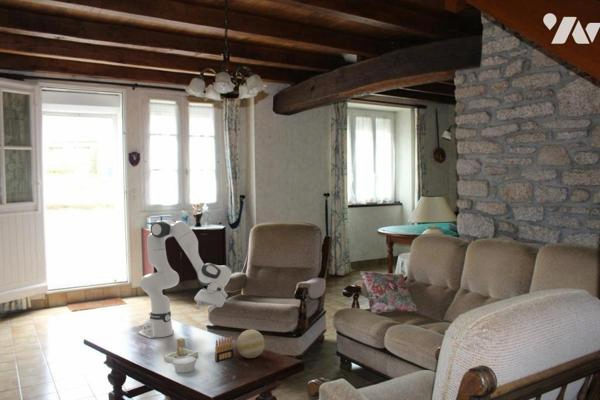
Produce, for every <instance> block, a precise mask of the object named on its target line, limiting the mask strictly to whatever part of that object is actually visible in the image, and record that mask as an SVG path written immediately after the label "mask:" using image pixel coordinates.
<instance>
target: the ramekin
mask: <svg viewBox="0 0 600 400" xmlns="http://www.w3.org/2000/svg"><path fill="white" fill-rule="evenodd" d="M196 359H197V358H196V357H191V356H184V357H179V358H176V359H174V360H173V363H172V364H173V367H174V371H175V372H176V373H178V374H188V373H191V372H193V371H194V369H195V367H196V361H197V360H196Z"/></svg>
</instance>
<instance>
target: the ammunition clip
mask: <svg viewBox="0 0 600 400" xmlns="http://www.w3.org/2000/svg"><path fill="white" fill-rule="evenodd" d="M233 345H234V343H233V337H232V335H231V336H230V337H229V336H228V337H225V338H223V337H222V338H219V339H216V340H215V347H214V348H215V352H214V362H215V363H217V364H218V363H221V362H225V361H229V360H233V359H234V358H235V354H234V346H233Z"/></svg>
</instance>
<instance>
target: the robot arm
mask: <svg viewBox="0 0 600 400" xmlns="http://www.w3.org/2000/svg"><path fill="white" fill-rule="evenodd" d="M173 237H174V238H175V240H176V242H177V243H178V245H179V246H180V247H181V249H182V250H183V251H184V253H185V255H186V257H187V258H188V259H189V261H190V263H191V265H192V268H193V269H194V270H195V273H196V275H197V276H196V277H197V281H198V282H199V284H201V285H202V286H208V287H207V288H202V289H200V290H198V292H197V293H196V295H195V296H194V301H195V302H196V306H195V309H196V310H198V311H199V310H200V309H201V306H200V305H201V304H203V305H207V306H210V307H209V308H208V309H207V312H208V313H212V311H213V310H215V309H216V308H222V307H223V306H224V304H225V302H226V300H227V299H226V298H228V296H229V295H228V293H227V292H226V291H225V287H226V286H227V284H229V281H230V279H231V277H232V270H231V269H230V267H228V266H227V265H225V264H224V265H218V264H214V263H211V262H206V263H204V261H203V260H202V259H201V258H202V257H200V253H199V240H198V238H197V236H196V234H195V232H194V231H193V230H192V228H191V227H190V226H189V225H188V223H186V221H184V220H173V219H162V220H156V221H155V222H153V223H152V224H151V226H150V233H149V234H148V235H147V239H146V240H147V241H146V251H147V259H148V260H147V261H148V264H149V265H150V266H152V267H154V268H155V270H156V271H157V272H152V273H147V274H145V275H143V276H142V277H141V278H140V281H139V287H140V289H142V291H143V292H145V293H146V294H147V296H148V297H149V299H150V304H151V307H150V308H151V312H149V313H148V315H149V318H148V319H146V320H145V321H144V322H143V324H142V329H141V330H140V331H138V334H139V335H141V336H143V337H146V338H149V339H153V338H164V337H166V338H167V337H168V336H171V335H173V334H174V328H173V323H172V322H173V321H172V312H171V302H170V301H171V300H170V298H169V297H168V296H167V295H164V294H163V290H166V289H171V288H174V287H176V286H177V285H178V284H179V282H180V276H179V273H178V272H177V271H175V270H174V269H173V268H172V267H171V265H170V263H169V261H168V256H167V251H166V240H169V239H171V238H173Z"/></svg>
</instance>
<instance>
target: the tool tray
mask: <svg viewBox="0 0 600 400" xmlns="http://www.w3.org/2000/svg"><path fill="white" fill-rule="evenodd" d="M185 352H186V353H188V355H187V356H191V357H194V358H197V357H198V356H199V353H198V351H197V350H192V349H188V348H185ZM175 355H177V350H175V351H174V352H171V353H169V354H166V355H163V361H165V362H167V363H172V364H174V363H173V360H174V359H176V358H174V356H175Z"/></svg>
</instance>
